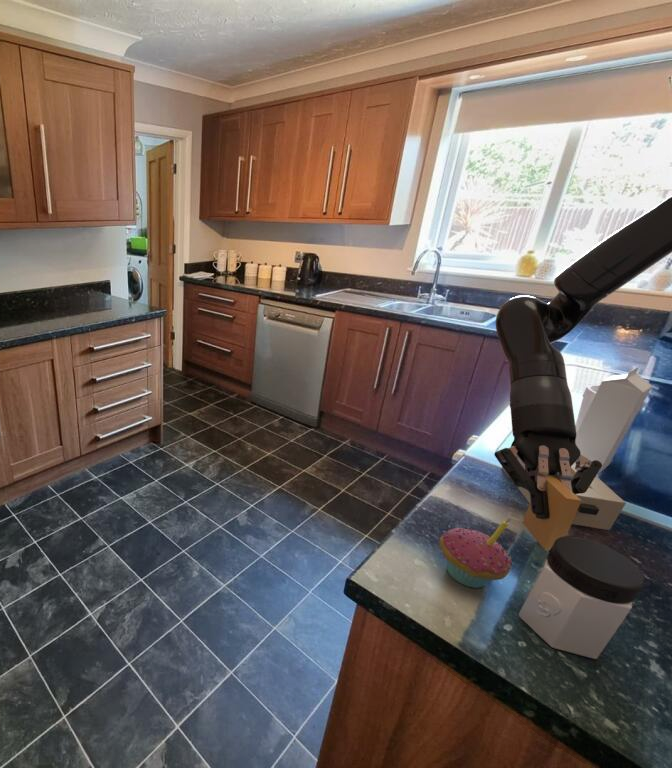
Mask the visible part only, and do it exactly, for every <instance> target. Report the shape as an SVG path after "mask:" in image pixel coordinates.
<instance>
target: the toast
mask: <svg viewBox="0 0 672 768" xmlns="http://www.w3.org/2000/svg"><path fill="white" fill-rule="evenodd" d="M546 480H547V489H546V491H545V492H546V493H547V494H548V503H549V512H550V517H549V518H547V519H539V518H537V517H536V514H533V512H532V510H531V502H530V503H529V505H528V507H527V510H526V513H525V515H524V518H523V520H522V524H523V526H524V527H525V528H526V529H527V531H528V532H529V533H530V534H531V535H532V536H533V538H534V539H535V540H536V542H538V544H539V545H540V546H541V548H542V549H543V550H544V551H547V552H549V550H550V549H551V547H552V545H553V544H554V542H555V540H556V539H558V538H560V537H564V536H568V534H569V531H570V529H571V526H572V525H573V524H572V522H573V520H574V517H575V515H576V513H577V510H578V508H579V506H580V504H581V501H582V500H580V499H579V498H578V497H577V496H576V495H575V494H574V493H573V492H572V491H570V490H569V489H568V488H567V487H566V486H565V485H564V484H563V483H561V482H560V481H559V480H558V479H557V478H556V477H554V476H547V478H546Z"/></svg>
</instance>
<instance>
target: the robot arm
mask: <svg viewBox="0 0 672 768" xmlns="http://www.w3.org/2000/svg"><path fill="white" fill-rule="evenodd" d="M670 254H672V195H670V196H669V197H667V198H666V199H665V200H663V201H662V202H661V203H659V204H657V205H656V206H654V207H653V208H651V209H650V210H648V211H647V212H645V213H644V214H642V215H640V216H639V217H637V218H636V219H634V220H632V221H631V222H629V223H628V224H626V225H624V226H623V227H621V228H620V229H618V230H616V231H615V232H614V233H612V234H610V235H609V236H607V237H605V238H604V239H603V240H602V241H600V242H598V243H597V244H595V246H593V247H592V248H591V249H589V250H587V251H586V252H585V253H584V254H582V255H581V256H580V257H578V258H577V259H576V260H575V261H573V262H572V263H570V265H568V266H567V267H565V268H564V269H563V270H561V271H560V272H559V273H558V274H557V275H556V276H555V278H554V280H553V282H554V283H553V284H554V287H555V289H556V290H558V293H556V295H555V296H554V297H553V298H552V300H551V301H549V302H548V303H547V302H546V301H543V300H541V299H539V298H536V297H534V296H530V295H517V296H515V297H512V298H510V299H508V300H507V301H505V302H504V303H503V304H502V306H501V307H500V308H499V309H498V311H497V314H496V317H495V330H496V334H497V337H498V340H499V343H500V345H501V348H502V350H503V353H504V356H505V357H506V359H507V361H508V371H509V382H510V383H509V384H510V389H509V390H510V391H509V409H510V417H511V431H512V432H511V433H512V436H513V441H512V443H511V444H510V447H504V448H502V449H500V450H497V451H495V452H494V457H495V458H496V460H497V462H498V463H499V464H500V466H501V468H502V467H503V468H504V470H505V471H506V473H507V474H508V475H507V474H506V473H505V474H506V475H507V477H508V476H509V477H510V478H509V477H508V478H509V480H511V482H512V481H513V482H512V483H513V484H514V486H515V485H516V486H517V487H522V488H525V489H527V490H528V491H529V493H530V499H531V510H532V512H533V514H536V517H537V518H539V519H547V518H549V517H550V512H549V503H548V494H547V493H546V492H545V491H546V489H547V480H546V478H547V476H554V477H556V478H557V479H558V480H559V481H560V482H561V483H563V484H564V485H565V486H566V487H567V488H568V489H569V490H570V491H572V492H573V493H574V494H580V493H585V492H586V491H587V489H588V488H589V486H590V485H591V483H592V481H593V480H594V478H595V477H596V476H597V475H598V474H599V473H598V472H599V470H600V469H601V467H602V464H601V462H599V461H597V460H594V461H591V460H589V459H587V458H586V457H584V456H582V455H581V452H580V450H579V448H578V447H577V445H576V443H575V440H576V427H575V425H576V420H575V414H574V405H573V397H572V393H571V391H570V387H569V383H568V377H567V369H566V363H565V359H564V357H563V356H564V355H563V354H562V352H560V351H559V350H558V349H557V348H556V347H555V346H554V345H552V344H553V343H556V342H557V341H560V340H561V339H563V338H564V337H565V336H567V335H568V334H570V333H571V332H572V331H573V330H574V329H575V328H576V327H577V326H578V325H579V324H580V323H581V322H582V321H583V319H585V318H586V317H587V316H588V315H589V314H590V313H591V312H592V310H594V308H595V307H596V306H597V305H598V303H600V301H603V299H606V298H607V297H609V295H611V294H613V293H615V292H616V291H617V290H619V289H620V288H622V287H623V286H625V285H626V284H628V283H629V282H631V281H632V280H634V279H635V278H636V277H639V276H640V275H641V274H642V273H644V272H645V271H647V270H648V269H650V268H652V267H653V266H654V265H655V264H657V263H658V262H660V261H662V260H663V259H664V258H666V257H667V256H669V255H670ZM518 457H519V458H520V459H521V460H522V462H523V463H524V464H525V469H524V468H523V467H522V465H521V464H520V462H519V461H518V460H517V459H518ZM574 463H576V466H575V470H577V472H576V473H575V475H574V476H573V478H572V474H571V469H570V467H571V466H572V465H573V464H574ZM504 470H503V471H504ZM571 479H572V480H571ZM516 486H515V487H516ZM517 487H516V488H517Z"/></svg>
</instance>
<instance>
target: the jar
mask: <svg viewBox="0 0 672 768" xmlns="http://www.w3.org/2000/svg"><path fill="white" fill-rule="evenodd" d="M547 552H548V553H547V555H546V557H545V559H544V561H543V563H542V564H541V567H540V568H539V570H538V572H537V574H536V576H535V578H534V580H533V581H532V583H531V586H530V588H529V589H528V591H527V593H526V595H525V597H524V600H523V602H522V604H521V607H520V609H519V612H518V614H517V615H518V618H520V620H522V621H523V622H524V623H525V624H526V625H527V626H528V627H529V628H530V629H532V631H533V632H534V633H536V634H537V636H538V637H540V638H541V639H542V640H543V641H544V642H545V643H546V644H547V645H548V646H550V648H552V649H556V650H559V651H563V652H567V653H571V654H574V655H577V656H581V657H585V658H589V659H592V660H598V658H599V656H600V655H601V654H602V652H603V651H604V649H605V648H606V647H607V645H608V644H609V642H610V641H611V640H612V638H613V636H614V635H615V633H616V632H617V631H618V629H619V627H620V626H621V625H622V624H623V622H624V620H625V619H626V618H627V616H628V615H629V613H630V612H631V610H632V609H633V602H634V601H635V600H636V598H637V597H638V595H639V594H640V593H641V591H642V590H643V589H644V587H645V586H646V577H645V575H644V573H643V572H642V570H641V569H640V568H639V567H638V566H637V565H636V564H635V563H634V562H633V561H631V559H629V558H627V557H626V556H624V555H623V554H621V553H620V552H618V551H616V550H615V549H613V548H611V547H609V546H607V545H604V544H602V543H600V542H597V541H594V540H591V539H588V538H584V537H580V536H571V535H567V536H564V537H560V538H558V539H556V540H555V542H554V544H553V545H552V547H551V549H550V550H549V551H547Z"/></svg>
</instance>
